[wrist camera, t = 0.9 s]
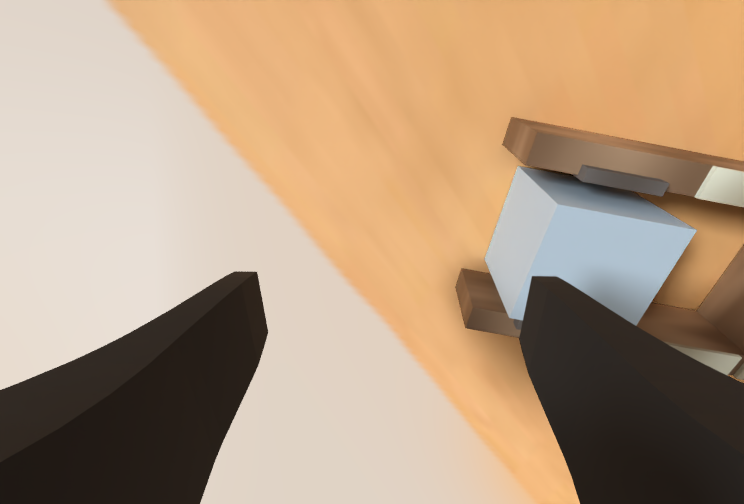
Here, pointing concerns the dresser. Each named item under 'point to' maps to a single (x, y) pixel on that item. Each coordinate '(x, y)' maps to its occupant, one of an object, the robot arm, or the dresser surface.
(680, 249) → the slate block
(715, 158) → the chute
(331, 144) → the dresser surface
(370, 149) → the dresser surface
